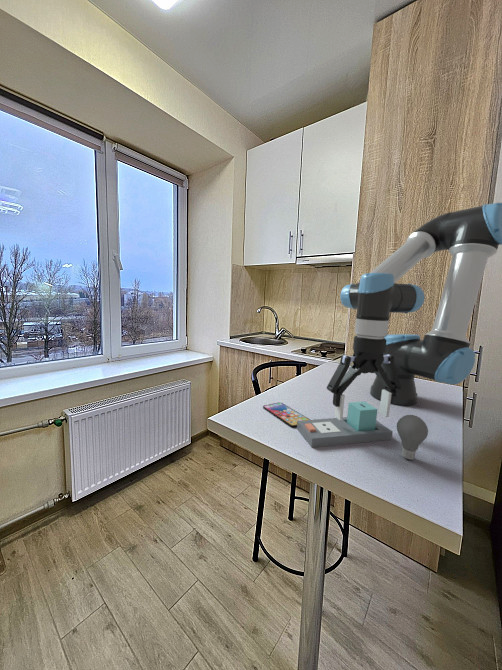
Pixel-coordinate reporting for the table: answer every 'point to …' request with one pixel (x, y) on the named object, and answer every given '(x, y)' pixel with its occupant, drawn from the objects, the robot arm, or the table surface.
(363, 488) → the table surface
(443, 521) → the table surface
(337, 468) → the table surface
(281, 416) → the smartphone
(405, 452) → the light bulb
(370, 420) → the block
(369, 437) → the power strip
